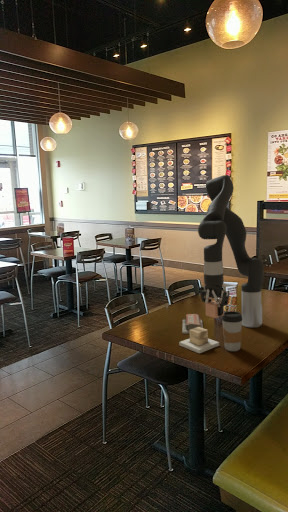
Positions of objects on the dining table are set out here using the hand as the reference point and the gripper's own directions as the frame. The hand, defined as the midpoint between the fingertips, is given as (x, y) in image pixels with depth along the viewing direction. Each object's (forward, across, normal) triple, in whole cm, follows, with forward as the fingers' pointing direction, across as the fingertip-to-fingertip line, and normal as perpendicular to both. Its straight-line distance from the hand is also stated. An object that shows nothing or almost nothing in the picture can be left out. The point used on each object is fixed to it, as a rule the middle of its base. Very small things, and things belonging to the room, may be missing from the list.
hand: (214, 314), depth 150 cm
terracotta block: (0, 0, 0) cm, 0 cm away
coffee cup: (+17, -1, -10) cm, 20 cm away
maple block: (+16, +11, -2) cm, 19 cm away
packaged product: (+18, +30, -17) cm, 39 cm away
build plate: (+17, +11, -2) cm, 21 cm away
